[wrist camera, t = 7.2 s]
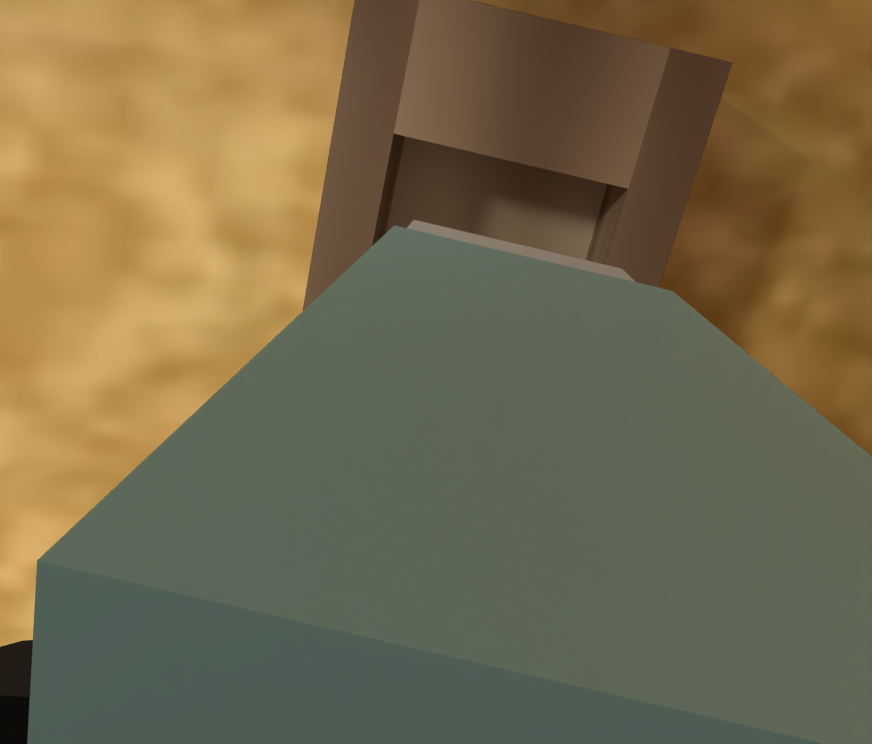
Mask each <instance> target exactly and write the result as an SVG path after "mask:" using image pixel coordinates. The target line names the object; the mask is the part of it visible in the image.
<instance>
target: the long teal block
mask: <svg viewBox="0 0 872 744" xmlns="http://www.w3.org/2000/svg"><path fill="white" fill-rule="evenodd" d="M27 744H872V456H870V455H869V454H868V453H867V452H866V451H864V450H863V449H862V448H861V447H860V446H858V445H857V444H856V443H855V442H854V441H852V440H851V439H850V438H849V437H848V436H846V435H845V434H844V433H843V432H842V431H840V430H839V429H838V428H837V427H836V426H834V425H833V424H832V423H831V422H830V421H828V420H827V419H826V418H825V417H824V416H822V415H821V414H820V413H819V412H818V411H816V410H815V409H814V408H813V407H812V406H810V405H809V404H808V403H807V402H806V401H804V400H803V399H802V398H801V397H800V396H798V395H797V394H796V393H795V392H794V391H792V390H791V389H790V388H789V387H788V386H786V385H785V384H784V383H783V382H782V381H780V380H779V379H778V378H777V377H776V376H774V375H773V374H772V373H771V372H769V371H768V370H767V369H766V368H765V367H763V366H762V365H761V364H760V363H759V362H757V361H756V360H755V359H754V358H753V357H751V356H750V355H749V354H748V353H747V352H745V351H744V350H743V349H742V348H741V347H739V346H738V345H737V344H736V343H735V342H733V341H732V340H731V339H730V338H729V337H727V336H726V335H725V334H724V333H723V332H721V331H720V330H719V329H718V328H717V327H715V326H714V325H713V324H712V323H711V322H709V321H708V320H707V319H706V318H705V317H703V316H702V315H701V314H700V313H699V312H697V311H696V310H695V309H694V308H693V307H691V306H690V305H689V304H688V303H687V302H685V301H684V300H683V299H682V298H681V297H679V296H678V295H677V294H676V293H674V292H673V291H671V290H667V289H663V288H659V287H654V286H650V285H646V284H642V283H637V282H635V281H634V280H633V279H632V278H631V277H630V276H629V275H628V274H627V273H626V272H625V271H624V270H623V269H621V268H617V267H613V266H609V265H604V264H600V263H596V262H592V261H587V260H583V259H579V258H575V257H570V256H566V255H562V254H558V253H553V252H549V251H545V250H540V249H536V248H532V247H528V246H523V245H519V244H515V243H511V242H506V241H502V240H498V239H494V238H489V237H485V236H481V235H477V234H472V233H468V232H464V231H460V230H455V229H451V228H447V227H443V226H438V225H434V224H430V223H426V222H421V221H417V220H413V222H412V223H411V224H410V225H409V226H408V227H407V228H403V227H399V226H395V225H394V226H393V227H392V228H391V229H390V230H389V231H388V232H387V233H386V234H385V235H384V236H383V237H381V238H380V239H379V240H378V241H377V242H376V243H375V244H374V245H373V246H372V247H371V248H370V249H369V250H368V251H367V252H366V253H364V254H363V255H362V256H361V257H360V258H359V259H358V260H357V261H356V262H355V263H354V264H353V265H352V266H351V267H350V268H348V269H347V270H346V271H345V272H344V273H343V274H342V275H341V276H340V277H339V278H338V279H337V280H336V281H335V282H334V283H332V284H331V285H330V286H329V287H328V288H327V289H326V290H325V291H324V292H323V293H322V294H321V295H320V296H319V297H318V298H316V299H315V300H314V301H313V302H312V303H311V304H310V305H309V306H308V307H307V308H306V309H305V310H304V311H303V312H302V313H301V314H299V315H298V316H297V317H296V318H295V319H294V320H293V321H292V322H291V323H290V324H289V325H288V326H287V327H286V328H285V329H283V330H282V331H281V332H280V333H279V334H278V335H277V336H276V337H275V338H274V339H273V340H272V341H271V342H270V343H269V344H267V345H266V346H265V347H264V348H263V349H262V350H261V351H260V352H259V353H258V354H257V355H256V356H255V357H254V358H253V359H252V360H250V361H249V362H248V363H247V364H246V365H245V366H244V367H243V368H242V369H241V370H240V371H239V372H238V373H237V374H236V375H234V376H233V377H232V378H231V379H230V380H229V381H228V382H227V383H226V384H225V385H224V386H223V387H222V388H221V389H220V390H218V391H217V392H216V393H215V394H214V395H213V396H212V397H211V398H210V399H209V400H208V401H207V402H206V403H205V404H204V405H202V406H201V407H200V408H199V409H198V410H197V411H196V412H195V413H194V414H193V415H192V416H191V417H190V418H189V419H188V420H187V421H185V422H184V423H183V424H182V425H181V426H180V427H179V428H178V429H177V430H176V431H175V432H174V433H173V434H172V435H171V436H169V437H168V438H167V439H166V440H165V441H164V442H163V443H162V444H161V445H160V446H159V447H158V448H157V449H156V450H155V451H153V452H152V453H151V454H150V455H149V456H148V457H147V458H146V459H145V460H144V461H143V462H142V463H141V464H140V465H139V466H137V467H136V468H135V469H134V470H133V471H132V472H131V473H130V474H129V475H128V476H127V477H126V478H125V479H124V480H123V481H122V482H120V483H119V484H118V485H117V486H116V487H115V488H114V489H113V490H112V491H111V492H110V493H109V494H108V495H107V496H106V497H104V498H103V499H102V500H101V501H100V502H99V503H98V504H97V505H96V506H95V507H94V508H93V509H92V510H91V511H90V512H88V513H87V514H86V515H85V516H84V517H83V518H82V519H81V520H80V521H79V522H78V523H77V524H76V525H75V526H74V527H72V528H71V529H70V530H69V531H68V532H67V533H66V534H65V535H64V536H63V537H62V538H61V539H60V540H59V541H58V542H57V543H55V544H54V545H53V546H52V547H51V548H50V549H49V550H48V551H47V552H46V553H45V554H44V555H43V556H42V557H41V558H39V559H38V560H37V576H36V594H35V612H34V630H33V648H32V667H31V685H30V703H29V721H28V739H27Z"/></svg>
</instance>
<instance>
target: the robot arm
mask: <svg viewBox="0 0 872 744" xmlns="http://www.w3.org/2000/svg"><path fill="white" fill-rule="evenodd" d="M32 648H33V640H27V641H20V642H16V643H13V644H9V645H6V646H2V647H0V744H27V739H28V721H29V703H30V685H31V667H32Z"/></svg>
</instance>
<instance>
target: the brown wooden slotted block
mask: <svg viewBox="0 0 872 744" xmlns="http://www.w3.org/2000/svg"><path fill="white" fill-rule="evenodd" d="M731 65H732V62H728V61H723V60H719V59H715V58H711V57H707V56H702V55H698V54H694V53H690V52H686V51H681V50H677V49H673V48H669V47H665V46H660V45H656V44H652V43H648V42H644V41H639V40H635V39H631V38H627V37H623V36H618V35H614V34H610V33H606V32H602V31H597V30H593V29H589V28H585V27H581V26H576V25H572V24H568V23H564V22H560V21H555V20H551V19H547V18H543V17H539V16H534V15H530V14H526V13H522V12H518V11H513V10H509V9H505V8H501V7H497V6H492V5H488V4H484V3H480V2H476V1H471V0H355V2H354V8H353V14H352V20H351V25H350V31H349V37H348V43H347V49H346V55H345V61H344V67H343V73H342V79H341V85H340V91H339V97H338V103H337V109H336V115H335V121H334V127H333V133H332V139H331V145H330V151H329V157H328V163H327V169H326V175H325V181H324V187H323V193H322V199H321V205H320V211H319V217H318V223H317V229H316V235H315V241H314V247H313V253H312V259H311V265H310V270H309V276H308V282H307V288H306V294H305V300H304V306H303V311H304V310H305V309H306V308H307V307H308V306H309V305H310V304H311V303H312V302H313V301H314V300H315V299H316V298H318V297H319V296H320V295H321V294H322V293H323V292H324V291H325V290H326V289H327V288H328V287H329V286H330V285H331V284H332V283H334V282H335V281H336V280H337V279H338V278H339V277H340V276H341V275H342V274H343V273H344V272H345V271H346V270H347V269H348V268H350V267H351V266H352V265H353V264H354V263H355V262H356V261H357V260H358V259H359V258H360V257H361V256H362V255H363V254H364V253H366V252H367V251H368V250H369V249H370V248H371V247H372V246H373V245H374V244H375V243H376V242H377V241H378V240H379V239H380V238H381V237H383V236H384V235H385V234H386V233H387V232H388V231H389V230H390V229H391V228H392V227H393V226H394V225H395V226H399V227H403V228H407V227H408V226H409V225H410V224H411V223H412V222H413V220H417V221H421V222H426V223H430V224H434V225H438V226H443V227H447V228H451V229H455V230H460V231H464V232H468V233H472V234H477V235H481V236H485V237H489V238H494V239H498V240H502V241H506V242H511V243H515V244H519V245H523V246H528V247H532V248H536V249H540V250H545V251H549V252H553V253H558V254H562V255H566V256H570V257H575V258H579V259H583V260H587V261H592V262H596V263H600V264H604V265H609V266H613V267H617V268H621V269H623V270H624V271H625V272H626V273H627V274H628V275H629V276H630V277H631V278H632V279H633V280H634V281H635V282H637V283H642V284H646V285H650V286H654V287H659V285H660V282H661V279H662V275H663V272H664V269H665V266H666V263H667V260H668V257H669V254H670V251H671V248H672V245H673V242H674V239H675V236H676V233H677V230H678V227H679V224H680V221H681V218H682V215H683V212H684V209H685V205H686V202H687V199H688V196H689V193H690V190H691V187H692V184H693V181H694V178H695V175H696V172H697V169H698V166H699V163H700V160H701V157H702V154H703V151H704V148H705V145H706V142H707V139H708V135H709V132H710V129H711V126H712V123H713V120H714V117H715V114H716V111H717V108H718V105H719V102H720V99H721V96H722V93H723V90H724V87H725V84H726V81H727V78H728V75H729V72H730V69H731Z"/></svg>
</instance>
